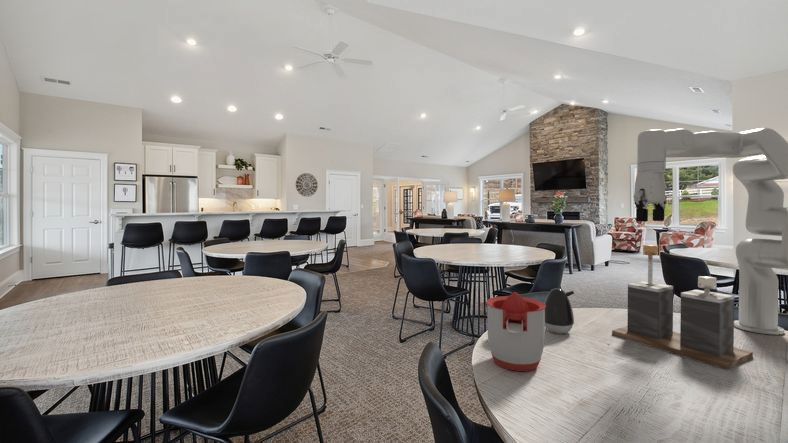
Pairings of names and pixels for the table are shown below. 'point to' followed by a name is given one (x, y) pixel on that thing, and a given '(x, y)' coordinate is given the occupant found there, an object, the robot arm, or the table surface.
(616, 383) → the table surface
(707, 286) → the ivory plunger
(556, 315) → the pump dispenser
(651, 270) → the copper plunger
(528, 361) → the citrus juicer
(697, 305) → the press station
